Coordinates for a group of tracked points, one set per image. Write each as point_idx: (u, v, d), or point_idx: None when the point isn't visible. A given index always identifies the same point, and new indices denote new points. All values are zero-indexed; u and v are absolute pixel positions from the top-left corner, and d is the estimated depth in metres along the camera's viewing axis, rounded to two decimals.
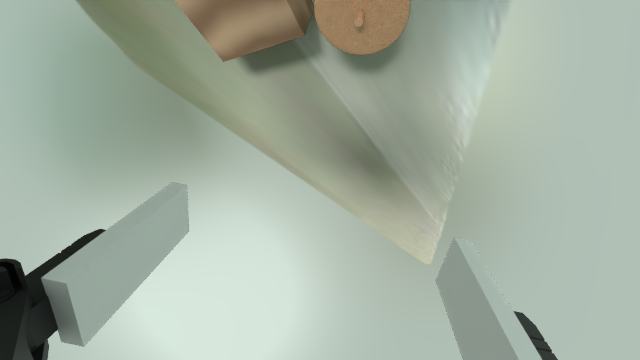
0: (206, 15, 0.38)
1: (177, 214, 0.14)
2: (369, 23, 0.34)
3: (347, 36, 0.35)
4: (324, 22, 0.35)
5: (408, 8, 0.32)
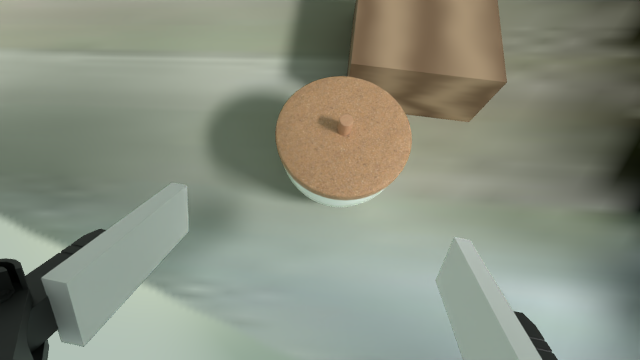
0: None
1: (177, 214, 0.14)
2: (326, 135, 0.23)
3: (324, 101, 0.24)
4: (357, 86, 0.24)
5: (318, 189, 0.21)
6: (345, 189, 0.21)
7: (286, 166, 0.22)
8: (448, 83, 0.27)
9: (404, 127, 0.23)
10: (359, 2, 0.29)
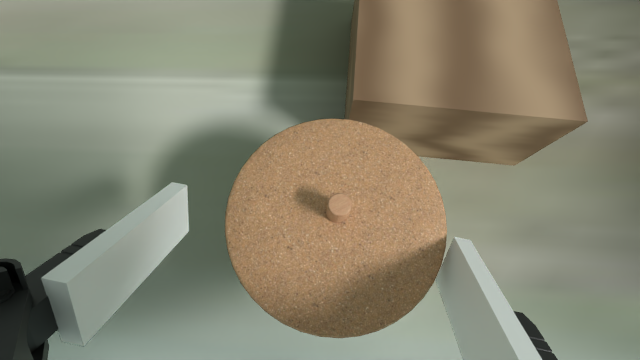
0: None
1: (177, 214, 0.14)
2: (307, 222, 0.14)
3: (305, 161, 0.15)
4: (359, 136, 0.15)
5: (291, 324, 0.12)
6: (337, 324, 0.12)
7: (239, 278, 0.13)
8: (497, 123, 0.18)
9: (434, 206, 0.14)
10: (361, 6, 0.20)
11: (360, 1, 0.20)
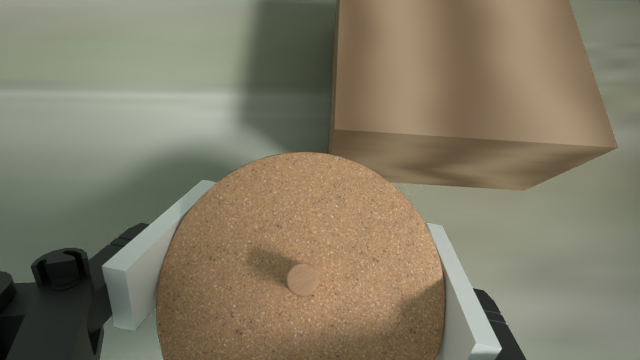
0: None
1: None
2: (264, 294, 0.10)
3: (264, 210, 0.12)
4: (334, 175, 0.12)
5: None
6: None
7: None
8: (509, 150, 0.15)
9: (430, 269, 0.11)
10: (342, 13, 0.17)
11: (341, 8, 0.17)
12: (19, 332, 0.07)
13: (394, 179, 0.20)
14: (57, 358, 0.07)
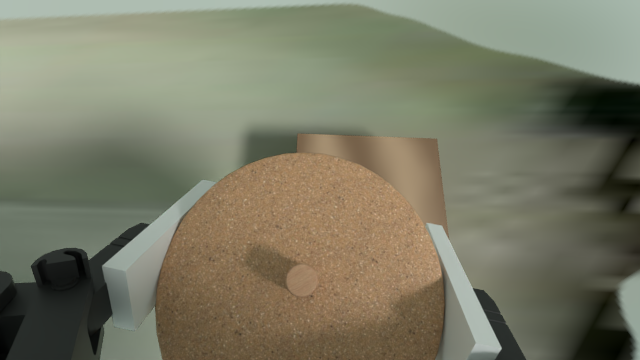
0: (362, 161, 0.28)
1: None
2: (263, 295, 0.10)
3: (264, 211, 0.12)
4: (334, 176, 0.12)
5: None
6: None
7: None
8: None
9: (429, 270, 0.11)
10: None
11: None
12: (20, 332, 0.07)
13: None
14: (57, 358, 0.07)
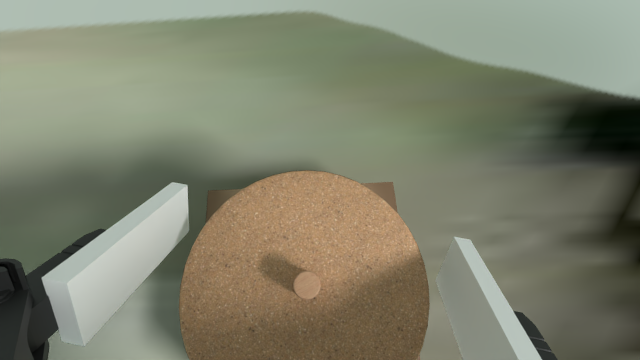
0: None
1: (177, 214, 0.14)
2: (273, 297, 0.12)
3: (273, 223, 0.13)
4: (334, 192, 0.14)
5: None
6: None
7: None
8: None
9: (416, 276, 0.13)
10: None
11: None
12: None
13: None
14: None
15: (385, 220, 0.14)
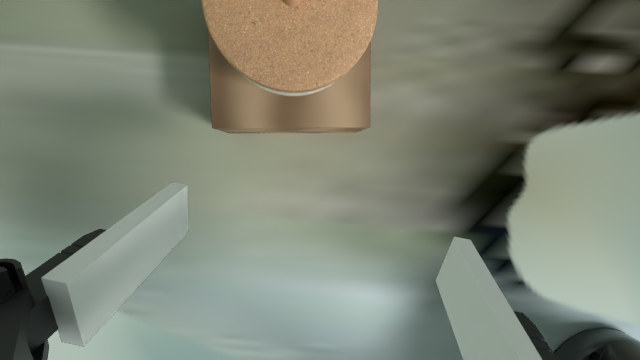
0: None
1: (177, 214, 0.14)
2: (268, 3, 0.17)
3: None
4: None
5: (254, 78, 0.18)
6: (286, 81, 0.18)
7: (216, 43, 0.18)
8: (317, 128, 0.27)
9: (370, 2, 0.18)
10: (210, 36, 0.25)
11: (208, 31, 0.25)
12: None
13: (271, 132, 0.32)
14: None
15: None
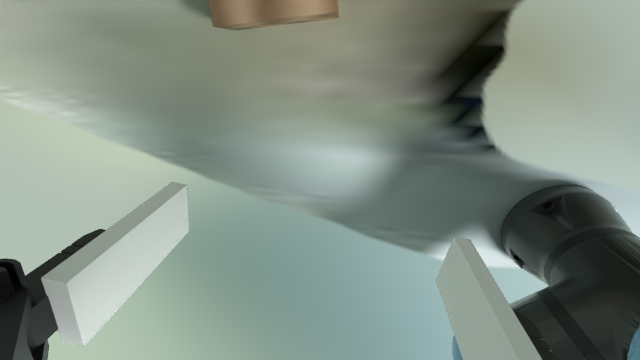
0: None
1: (177, 214, 0.14)
2: None
3: None
4: None
5: None
6: None
7: None
8: (294, 18, 0.33)
9: None
10: None
11: None
12: None
13: None
14: None
15: None
